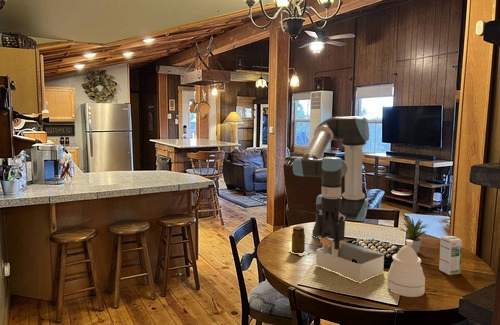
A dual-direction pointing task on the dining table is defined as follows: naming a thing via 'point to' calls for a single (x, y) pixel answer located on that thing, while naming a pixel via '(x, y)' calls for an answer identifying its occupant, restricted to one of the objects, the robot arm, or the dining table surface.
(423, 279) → the honey pot
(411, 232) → the house plant
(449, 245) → the syrup box
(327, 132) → the robot arm
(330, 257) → the mailer box
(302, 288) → the dining table surface
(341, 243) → the lid
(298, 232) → the condiment
